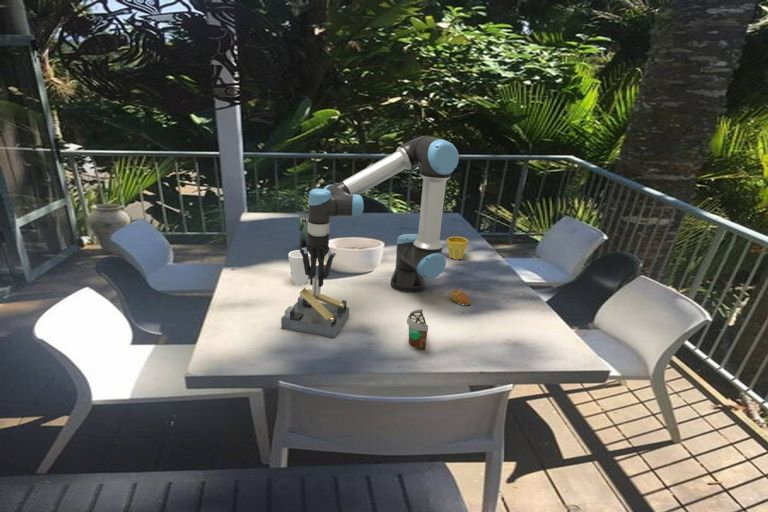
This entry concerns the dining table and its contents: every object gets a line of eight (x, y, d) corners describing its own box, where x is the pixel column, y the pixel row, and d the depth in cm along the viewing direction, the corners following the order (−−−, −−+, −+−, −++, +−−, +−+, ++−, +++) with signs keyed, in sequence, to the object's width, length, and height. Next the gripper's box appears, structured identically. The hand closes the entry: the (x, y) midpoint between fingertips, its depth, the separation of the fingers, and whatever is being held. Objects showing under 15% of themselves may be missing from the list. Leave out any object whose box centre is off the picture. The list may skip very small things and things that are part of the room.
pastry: (474, 304, 198) (475, 296, 197) (462, 308, 194) (463, 299, 193) (458, 295, 205) (459, 287, 204) (446, 299, 202) (447, 290, 200)
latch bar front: (333, 320, 170) (336, 317, 170) (330, 324, 168) (333, 321, 167) (302, 290, 169) (304, 287, 169) (298, 293, 167) (301, 290, 166)
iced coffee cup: (403, 333, 173) (405, 308, 169) (420, 333, 173) (422, 308, 170) (407, 352, 161) (409, 326, 158) (425, 352, 162) (428, 326, 158)
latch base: (349, 316, 183) (349, 300, 180) (334, 338, 168) (334, 320, 165) (300, 308, 187) (299, 292, 185) (281, 328, 172) (280, 311, 169)
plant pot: (443, 259, 244) (444, 240, 240) (448, 252, 253) (450, 235, 249) (463, 263, 240) (465, 244, 237) (467, 256, 249) (470, 238, 246)
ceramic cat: (297, 247, 249) (296, 210, 242) (309, 246, 252) (309, 209, 244) (307, 261, 232) (307, 221, 225) (320, 260, 235) (320, 220, 228)
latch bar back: (344, 306, 180) (346, 303, 179) (342, 310, 177) (343, 306, 177) (307, 291, 182) (308, 288, 181) (304, 295, 179) (305, 291, 179)
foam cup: (306, 287, 205) (306, 259, 200) (285, 284, 206) (285, 256, 202) (313, 279, 213) (313, 251, 209) (294, 276, 215) (293, 249, 210)
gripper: (340, 233, 173) (337, 292, 181) (304, 227, 176) (303, 286, 184) (333, 239, 166) (330, 301, 174) (295, 233, 169) (294, 294, 177)
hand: (316, 293), depth 179 cm, fingers closed
